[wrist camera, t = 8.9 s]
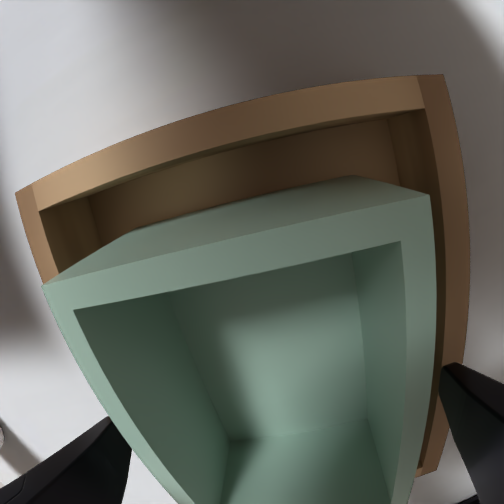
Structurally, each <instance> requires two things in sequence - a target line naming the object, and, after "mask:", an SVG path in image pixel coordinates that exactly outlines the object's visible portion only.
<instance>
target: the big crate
mask: <svg viewBox="0 0 504 504" xmlns="http://www.w3.org/2000/svg"><path fill="white" fill-rule="evenodd" d="M348 175H357V176H361V177H365V178H369V179H373V180H377V181H381V182H385V183H389V184H393V185H396V186H400V187H404V188H407V189H411V190H415V191H418V192H421V193H425V194H428V195H430V202H431V210H432V220H433V231H434V243H435V260H436V337H435V353H434V366H433V376H432V386H431V394H430V401H429V408H428V415H427V421H426V427H425V432H424V438H423V443H422V448H421V452H420V457H419V461H418V466H417V470H416V474H415V478H416V477H419V476H422V475H425V474H428V473H430V472H433V471H436V470H437V467H438V464H439V461H440V458H441V455H442V451H443V448H444V445H445V441H446V438H447V434H448V430H449V427H450V426H449V423H448V420H447V417H446V414H445V411H444V408H443V406H442V403H441V400H440V397H439V393H438V387H439V380H440V372H441V368H442V367H443V366H444V365H447V364H450V363H452V362H457V363H460V364H462V363H463V356H464V349H465V341H466V332H467V321H468V308H469V290H470V234H469V216H468V203H467V193H466V184H465V175H464V168H463V161H462V155H461V149H460V143H459V138H458V132H457V127H456V123H455V118H454V114H453V109H452V105H451V101H450V97H449V93H448V89H447V86H446V82H445V79H444V75H443V74H437V75H412V76H397V77H385V78H374V79H365V80H357V81H349V82H342V83H335V84H328V85H322V86H316V87H310V88H305V89H299V90H294V91H289V92H284V93H279V94H275V95H270V96H266V97H261V98H257V99H253V100H249V101H245V102H241V103H237V104H233V105H230V106H226V107H222V108H219V109H215V110H212V111H208V112H205V113H202V114H198V115H195V116H192V117H189V118H185V119H182V120H179V121H176V122H173V123H170V124H167V125H164V126H162V127H159V128H156V129H153V130H150V131H148V132H145V133H142V134H140V135H137V136H134V137H132V138H129V139H127V140H124V141H122V142H119V143H117V144H114V145H112V146H109V147H107V148H105V149H102V150H100V151H98V152H95V153H93V154H91V155H89V156H86V157H84V158H82V159H80V160H78V161H76V162H73V163H71V164H69V165H67V166H65V167H63V168H61V169H59V170H57V171H55V172H53V173H51V174H49V175H47V176H45V177H43V178H41V179H39V180H37V181H36V182H34V183H32V184H30V185H28V186H26V187H25V188H23V189H21V190H19V191H17V192H16V193H15V196H16V200H17V204H18V208H19V212H20V215H21V219H22V222H23V226H24V229H25V232H26V236H27V239H28V242H29V245H30V248H31V251H32V254H33V257H34V260H35V263H36V266H37V268H38V271H39V274H40V276H41V279H42V282H43V284H45V283H46V282H48V281H49V280H51V279H52V278H54V277H55V276H57V275H58V274H60V273H62V272H63V271H65V270H66V269H68V268H70V267H71V266H73V265H74V264H76V263H78V262H79V261H81V260H82V259H84V258H86V257H87V256H89V255H91V254H92V253H94V252H96V251H97V250H99V249H101V248H102V247H104V246H106V245H107V244H109V243H111V242H113V241H114V240H116V239H118V238H119V237H121V236H123V235H125V234H126V233H128V232H130V231H132V230H133V229H135V228H137V227H141V226H144V225H148V224H151V223H155V222H158V221H162V220H165V219H169V218H173V217H176V216H180V215H183V214H187V213H191V212H195V211H198V210H202V209H206V208H210V207H214V206H217V205H221V204H225V203H229V202H233V201H237V200H241V199H245V198H249V197H254V196H258V195H262V194H266V193H270V192H275V191H279V190H283V189H288V188H292V187H296V186H301V185H306V184H310V183H315V182H319V181H324V180H329V179H334V178H338V177H343V176H348Z"/></svg>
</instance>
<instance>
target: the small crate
mask: <svg viewBox="0 0 504 504" xmlns="http://www.w3.org/2000/svg"><path fill="white" fill-rule="evenodd" d="M41 287H42V290H43V292H44V295H45V297H46V299H47V302H48V304H49V306H50V309H51V311H52V313H53V316H54V318H55V320H56V322H57V324H58V326H59V328H60V331H61V333H62V335H63V337H64V339H65V341H66V343H67V345H68V347H69V349H70V351H71V353H72V354H73V356H74V358H75V360H76V362H77V364H78V366H79V367H80V369H81V371H82V373H83V375H84V376H85V378H86V380H87V381H88V383H89V385H90V387H91V388H92V390H93V392H94V393H95V395H96V397H97V398H98V400H99V401H100V403H101V404H102V406H103V408H104V409H105V411H106V412H107V414H108V415H109V417H110V418H111V420H112V421H113V423H114V424H115V426H116V427H117V429H118V430H119V431H120V433H121V434H122V436H123V437H124V438H125V440H126V441H127V443H128V444H129V445H130V447H131V448H132V449H133V451H134V452H135V453H136V455H137V456H138V457H139V458H140V460H141V461H142V462H143V464H144V465H145V466H146V467H147V468H148V470H149V471H150V472H151V473H152V475H153V476H154V477H155V478H156V479H157V481H158V482H159V483H160V484H161V485H162V486H163V487H164V489H165V490H166V491H167V492H168V493H169V494H170V495H171V496H172V498H173V499H174V500H175V501H176V502H177V503H178V504H407V503H408V499H409V496H410V493H411V489H412V485H413V482H414V478H415V474H416V470H417V466H418V461H419V457H420V452H421V448H422V443H423V438H424V432H425V427H426V421H427V415H428V408H429V401H430V394H431V386H432V376H433V366H434V353H435V337H436V260H435V243H434V231H433V220H432V210H431V202H430V195H428V194H425V193H421V192H418V191H415V190H411V189H407V188H404V187H400V186H396V185H393V184H389V183H385V182H381V181H377V180H373V179H369V178H365V177H361V176H357V175H348V176H343V177H338V178H334V179H329V180H324V181H319V182H315V183H310V184H306V185H301V186H296V187H292V188H288V189H283V190H279V191H275V192H270V193H266V194H262V195H258V196H254V197H249V198H245V199H241V200H237V201H233V202H229V203H225V204H221V205H217V206H214V207H210V208H206V209H202V210H198V211H195V212H191V213H187V214H183V215H180V216H176V217H173V218H169V219H165V220H162V221H158V222H155V223H151V224H148V225H144V226H141V227H137V228H135V229H133V230H132V231H130V232H128V233H126V234H125V235H123V236H121V237H119V238H118V239H116V240H114V241H113V242H111V243H109V244H107V245H106V246H104V247H102V248H101V249H99V250H97V251H96V252H94V253H92V254H91V255H89V256H87V257H86V258H84V259H82V260H81V261H79V262H78V263H76V264H74V265H73V266H71V267H70V268H68V269H66V270H65V271H63V272H62V273H60V274H58V275H57V276H55V277H54V278H52V279H51V280H49V281H48V282H46V283H45V284H43V285H42V286H41Z"/></svg>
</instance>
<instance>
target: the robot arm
mask: <svg viewBox="0 0 504 504" xmlns="http://www.w3.org/2000/svg"><path fill="white" fill-rule="evenodd" d="M438 393H439V397H440V400H441V403H442V406H443V408H444V411H445V414H446V417H447V420H448V423H449V426H450V429H451V432H452V435H453V438H454V441H455V443H456V446H457V448H458V450H459V452H460V455H461V457H462V459H463V461H464V464H465V466H466V468H467V470H468V473H469V475H470V477H471V480H472V482H473V485H474V487H475V490H476V492H477V496H475V497H473V498H471V499H469V500H467V501H465V502H462V503H460V504H504V384H502V383H500V382H498V381H496V380H494V379H492V378H490V377H487V376H485V375H483V374H481V373H479V372H477V371H475V370H472V369H470V368H468V367H466V366H464V365H462V364H460V363H457V362H452V363H450V364H447V365H444V366H443V367H442V368H441V372H440V380H439V387H438ZM131 452H132V448H131V447H130V445H129V444H128V443H127V441H126V440H125V438H124V437H123V436H122V434H121V433H120V431H119V430H118V429H117V427H116V426H115V424H114V423H113V421H112V420H111V418H110V417H109V416H107V417H105V418H104V419H103V420H101V421H100V422H98V423H97V424H96V425H94V426H93V427H91V428H90V429H89V430H87V431H86V432H84V433H83V434H82V435H80V436H79V437H77V438H76V439H75V440H73V441H72V442H70V443H69V444H67V445H66V446H65V447H63V448H62V449H60V450H59V451H57V452H56V453H54V454H53V455H52V456H50V457H49V458H47V459H46V460H44V461H43V462H41V463H40V464H38V465H37V466H35V467H34V468H32V469H31V470H29V471H28V472H27V473H25V474H23V475H22V476H20V477H19V478H17V479H15V480H14V481H12V482H11V483H9V484H7V485H6V486H4V487H2V488H0V504H122V500H123V496H124V492H125V488H126V484H127V478H128V472H129V465H130V458H131Z"/></svg>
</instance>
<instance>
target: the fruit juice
mask: <svg viewBox="0 0 504 504" xmlns="http://www.w3.org/2000/svg"><path fill="white" fill-rule="evenodd" d="M3 442H4V435H3V432H2V429H1V427H0V449H1V447H2V445H3Z"/></svg>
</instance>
